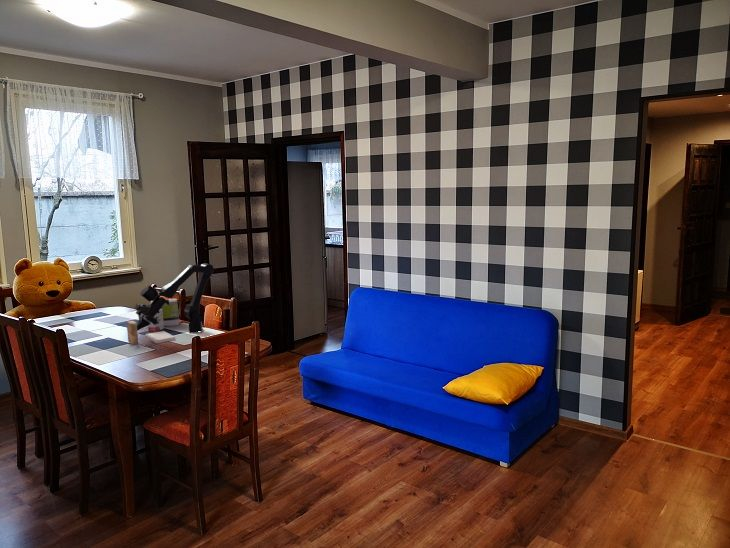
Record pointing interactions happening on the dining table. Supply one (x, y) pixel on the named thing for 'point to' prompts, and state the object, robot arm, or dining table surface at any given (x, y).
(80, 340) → the dining table surface
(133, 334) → the stub
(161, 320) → the ink box
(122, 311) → the dining table surface
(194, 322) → the robot arm
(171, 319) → the tea box
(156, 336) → the plate
